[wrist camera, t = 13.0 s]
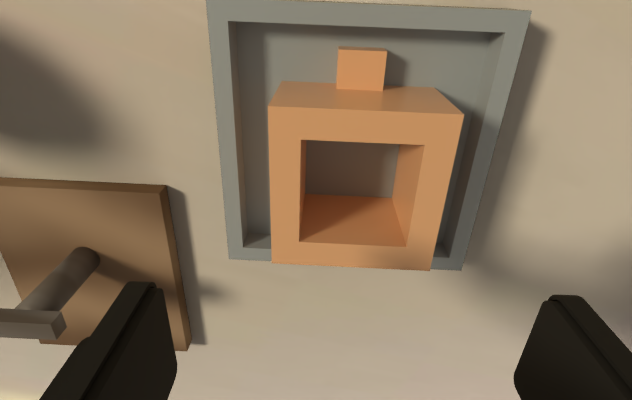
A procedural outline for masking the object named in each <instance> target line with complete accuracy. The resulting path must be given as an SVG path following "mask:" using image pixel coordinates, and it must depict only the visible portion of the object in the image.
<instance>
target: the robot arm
mask: <svg viewBox="0 0 632 400" xmlns="http://www.w3.org/2000/svg"><path fill="white" fill-rule="evenodd" d="M176 373H177V360H176V355H175V350H174V344H173V339H172V334H171V328H170V323H169V318H168V312H167V307H166V302H165V297H164V292H163V289H162V288H157V286H156V284H155V283H154V282H142V281H129V282H127V283H126V285H125V286H124V287H123V289H122V290H121V292H120V293H119V295H118V296H117V298H116V299H115V301H114V302H113V303H112V305H111V306H110V308H109V309H108V311H107V312H106V314H105V315H104V317H103V318H102V320H101V321H100V323H99V324H98V325H97V327H96V328H95V330H94V331H93V333H92V334H91V336H90V337H86V338H85V339H83V340H82V341H81V342H80V343H79V344H78V345H77V347H76V348H75V349H74V351H73V352H72V354H71V355H70V357H69V358H68V359H67V361H66V362H65V364H64V365H63V367H62V368H61V369H60V371H59V372H58V374H57V375H56V377H55V378H54V379H53V381H52V382H51V384H50V385H49V387H48V388H47V389H46V391H45V392H44V394H43V395H42V397H41V398H40V399H39V400H167V399H168V396H169V394H170V391H171V388H172V386H173V383H174V381H175V377H176ZM514 384H515V388H516V390H517V392H518V394H519V396H520V398H521V400H632V353H631V351H630V350H629V349H628V348H627V347H626V346H625V345H624V344H623V342H622V341H621V340H620V339H619V338H618V337H617V336H616V335H615V333H614V332H613V331H612V330H611V329H610V328H609V327H608V326H607V325H606V323H605V322H604V321H603V320H602V319H601V318H600V317H599V316H598V314H597V313H596V312H595V311H594V310H593V309H592V308H591V307H590V305H589V304H588V303H587V302H586V301H585V300H584V299H583V298H582V297H580V296H575V295H552V296H551V297H550V298H549V299H548V301H544V302H543V304H542V305H541V308H540V310H539V313H538V315H537V318H536V320H535V323H534V325H533V328H532V330H531V333H530V335H529V338H528V340H527V343H526V345H525V348H524V350H523V353H522V355H521V358H520V360H519V363H518V365H517V368H516V370H515V373H514Z"/></svg>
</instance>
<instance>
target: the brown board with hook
mask: <svg viewBox="0 0 632 400" xmlns="http://www.w3.org/2000/svg"><path fill="white" fill-rule="evenodd" d="M0 251H1V253H2V256H3V258H4V260H5V263H6V265H7V267H8V270H9V272H10V274H11V276H12V279H13V281H14V283H15V286H16V288H17V290H18V293H19V295H20V297H21V300H22V302H21V303H20V304H19V305H18V306H17V307H16V308H15V309H2V308H0V337H7V338H26V339H39V341H40V343H41V344H58V345H78V344H79V343H80V342H81V341H82V340H83V339H85V338H86V337H90V336H91V334H92V333H93V331H94V330H95V328H96V327H97V325H98V324H99V323H100V321H101V320H102V318H103V317H104V315H105V314H106V312H107V311H108V309H109V308H110V306H111V305H112V303H113V302H114V301H115V299H116V298H117V296H118V295H119V293H120V292H121V290H122V289H123V287H124V286H125V285H126V283H127V282H129V281H142V282H154V283H155V284H156V286H157V288H162V289H163V292H164V297H165V302H166V307H167V312H168V318H169V323H170V328H171V334H172V339H173V344H174V350H175V351H187V350H188V348H189V345H190V343H191V340H192V338H191V332H190V326H189V320H188V314H187V308H186V302H185V296H184V290H183V284H182V278H181V272H180V266H179V260H178V254H177V248H176V242H175V235H174V229H173V223H172V217H171V211H170V205H169V199H168V193H167V187H166V185H149V184H128V183H107V182H86V181H64V180H43V179H22V178H1V177H0Z"/></svg>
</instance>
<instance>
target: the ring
mask: <svg viewBox="0 0 632 400" xmlns="http://www.w3.org/2000/svg"><path fill="white" fill-rule="evenodd" d="M386 58H387V51H386V50H385V49H384V48H375V47H351V46H338V59H337V76H336V83H319V82H296V81H281V83H280V85H279V87H278V89H277V90H276V92H275V94H274V96H273V98H272V99H271V101H270V103H269V105H268V135H269V176H270V216H271V256H272V263H280V264H300V265H321V266H341V267H362V268H382V269H403V270H424V271H430V268H431V263H432V259H433V254H434V249H435V245H436V240H437V236H438V231H439V227H440V222H441V218H442V213H443V209H444V204H445V200H446V195H447V191H448V186H449V182H450V177H451V173H452V168H453V164H454V159H455V155H456V150H457V145H458V141H459V136H460V132H461V127H462V123H463V118H464V114H463V113H462V112H461V111H460V110H459V109H458V108H456V107H455V106H454V105H453V104H452V103H451V102H450V101H449V100H448V99H446V98H445V97H444V96H443V95H442V94H441V93H440V92H439V91H438V90H437V89H435V88H434V87H413V86H390V85H383V84H384V76H385V67H386ZM306 140H320V141H343V142H365V143H388V144H400V145H399V151H398V158H397V165H396V172H395V179H394V186H393V193H392V198H384V197H363V196H341V195H319V194H305V179H306Z"/></svg>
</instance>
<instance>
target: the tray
mask: <svg viewBox="0 0 632 400" xmlns="http://www.w3.org/2000/svg"><path fill="white" fill-rule="evenodd" d="M206 7H207V18H208V29H209V40H210V52H211V63H212V74H213V85H214V97H215V108H216V119H217V130H218V142H219V153H220V164H221V175H222V187H223V198H224V209H225V220H226V232H227V243H228V254H229V259H237V260H258V261H272V256H271V216H270V176H269V135H268V105H269V103H270V101H271V99H272V98H273V96H274V94H275V92H276V90H277V89H278V87H279V85H280V83H281V81H296V82H319V83H336V76H337V59H338V46H351V47H375V48H384V49H385V50H386V51H387V58H386V67H385V76H384V84H383V85H390V86H413V87H434V88H435V89H437V90H438V91H439V92H440V93H441V94H442V95H443V96H444V97H445V98H446V99H448V100H449V101H450V102H451V103H452V104H453V105H454V106H455V107H456V108H458V109H459V110H460V111H461V112H462V113H463V114H464V118H463V123H462V127H461V132H460V136H459V141H458V145H457V150H456V155H455V159H454V164H453V168H452V173H451V177H450V182H449V186H448V191H447V195H446V200H445V204H444V209H443V213H442V218H441V222H440V227H439V231H438V236H437V240H436V245H435V249H434V254H433V259H432V263H431V268H430V269H440V270H460V271H461V270H462V266H463V263H464V259H465V255H466V251H467V248H468V244H469V240H470V237H471V233H472V229H473V226H474V222H475V218H476V215H477V211H478V207H479V204H480V200H481V196H482V193H483V189H484V185H485V182H486V178H487V174H488V170H489V167H490V163H491V159H492V156H493V152H494V148H495V145H496V141H497V137H498V134H499V130H500V126H501V123H502V119H503V115H504V112H505V108H506V104H507V100H508V97H509V93H510V89H511V86H512V82H513V78H514V75H515V71H516V67H517V64H518V60H519V56H520V53H521V49H522V45H523V42H524V38H525V34H526V31H527V27H528V23H529V19H530V16H531V12H532V11H528V10H516V9H498V8H474V7H449V6H425V5H400V4H376V3H352V2H327V1H303V0H206ZM399 145H400V144H388V143H365V142H343V141H320V140H306V179H305V194H319V195H341V196H363V197H384V198H392V193H393V186H394V179H395V172H396V165H397V158H398V151H399Z"/></svg>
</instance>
